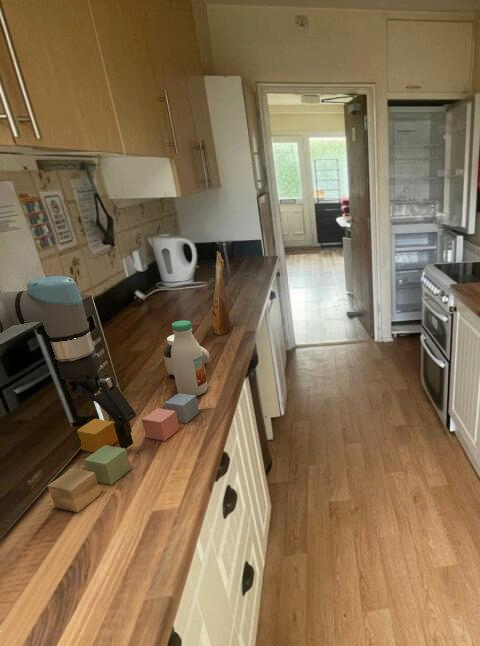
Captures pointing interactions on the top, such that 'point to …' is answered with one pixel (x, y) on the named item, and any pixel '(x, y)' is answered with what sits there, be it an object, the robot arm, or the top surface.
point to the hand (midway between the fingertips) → (101, 442)
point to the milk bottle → (187, 360)
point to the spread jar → (168, 355)
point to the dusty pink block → (160, 424)
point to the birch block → (74, 490)
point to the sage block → (108, 464)
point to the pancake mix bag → (220, 301)
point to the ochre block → (97, 435)
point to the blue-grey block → (183, 406)
